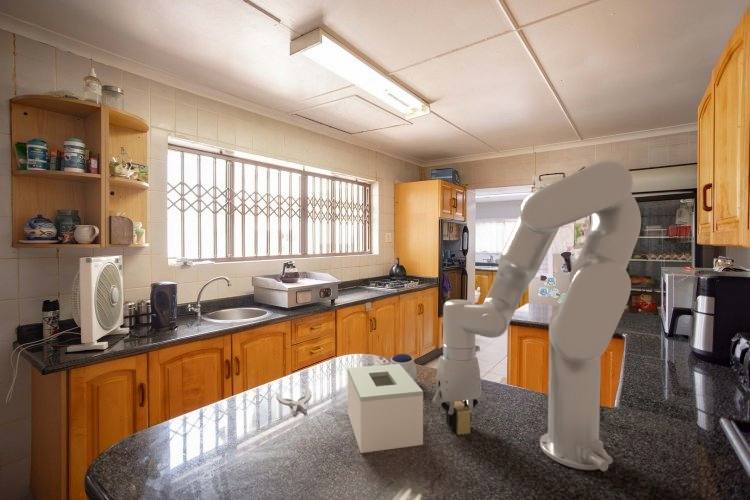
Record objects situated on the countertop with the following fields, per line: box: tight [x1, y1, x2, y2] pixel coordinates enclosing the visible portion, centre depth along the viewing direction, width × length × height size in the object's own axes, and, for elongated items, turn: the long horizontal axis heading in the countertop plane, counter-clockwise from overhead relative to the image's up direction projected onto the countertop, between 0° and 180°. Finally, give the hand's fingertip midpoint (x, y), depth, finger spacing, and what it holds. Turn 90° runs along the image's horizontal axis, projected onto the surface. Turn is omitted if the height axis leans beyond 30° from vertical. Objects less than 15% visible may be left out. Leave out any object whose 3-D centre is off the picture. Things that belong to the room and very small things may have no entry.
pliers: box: [275, 388, 312, 416], centre depth 101 cm, size 10×2×15 cm
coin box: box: [347, 364, 424, 454], centre depth 87 cm, size 18×14×12 cm
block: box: [454, 401, 471, 436], centre depth 87 cm, size 6×3×6 cm, turn 13°
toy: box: [366, 353, 418, 381], centre depth 111 cm, size 18×9×20 cm
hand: (458, 426), depth 87 cm, fingers closed on block, 3 cm apart
